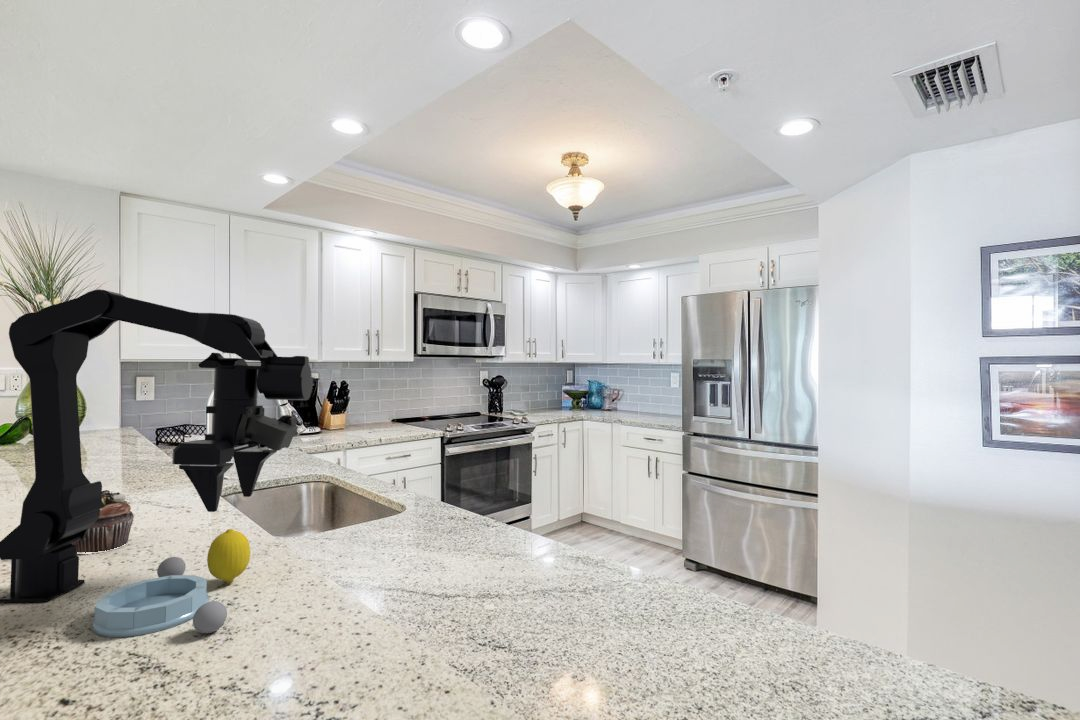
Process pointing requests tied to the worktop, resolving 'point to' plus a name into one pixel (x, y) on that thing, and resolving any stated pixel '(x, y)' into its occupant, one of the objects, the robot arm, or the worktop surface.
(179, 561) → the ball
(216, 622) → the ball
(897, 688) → the worktop surface
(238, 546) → the lemon
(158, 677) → the worktop surface
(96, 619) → the dish
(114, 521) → the cupcake
